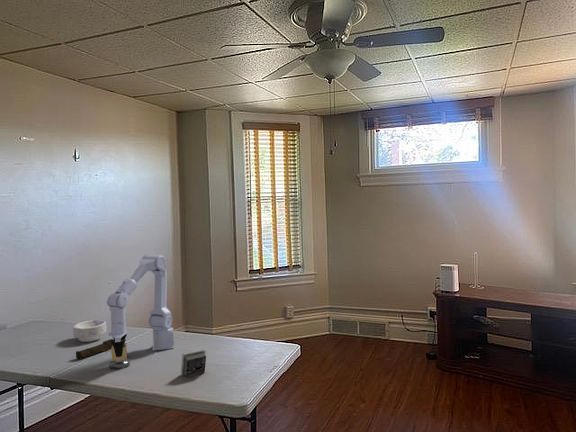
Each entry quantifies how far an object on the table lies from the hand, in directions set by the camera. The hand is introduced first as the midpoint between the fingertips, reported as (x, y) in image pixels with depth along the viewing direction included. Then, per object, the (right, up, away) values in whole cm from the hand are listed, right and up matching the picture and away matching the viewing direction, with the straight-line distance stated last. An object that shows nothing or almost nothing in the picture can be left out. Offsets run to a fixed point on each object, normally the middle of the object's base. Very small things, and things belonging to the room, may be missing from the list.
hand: (119, 354), depth 181 cm
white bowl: (-30, -5, +38) cm, 48 cm away
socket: (0, -2, 0) cm, 2 cm away
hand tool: (-17, -5, +17) cm, 25 cm away
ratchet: (-2, -5, +6) cm, 8 cm away
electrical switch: (+34, -5, -10) cm, 36 cm away
